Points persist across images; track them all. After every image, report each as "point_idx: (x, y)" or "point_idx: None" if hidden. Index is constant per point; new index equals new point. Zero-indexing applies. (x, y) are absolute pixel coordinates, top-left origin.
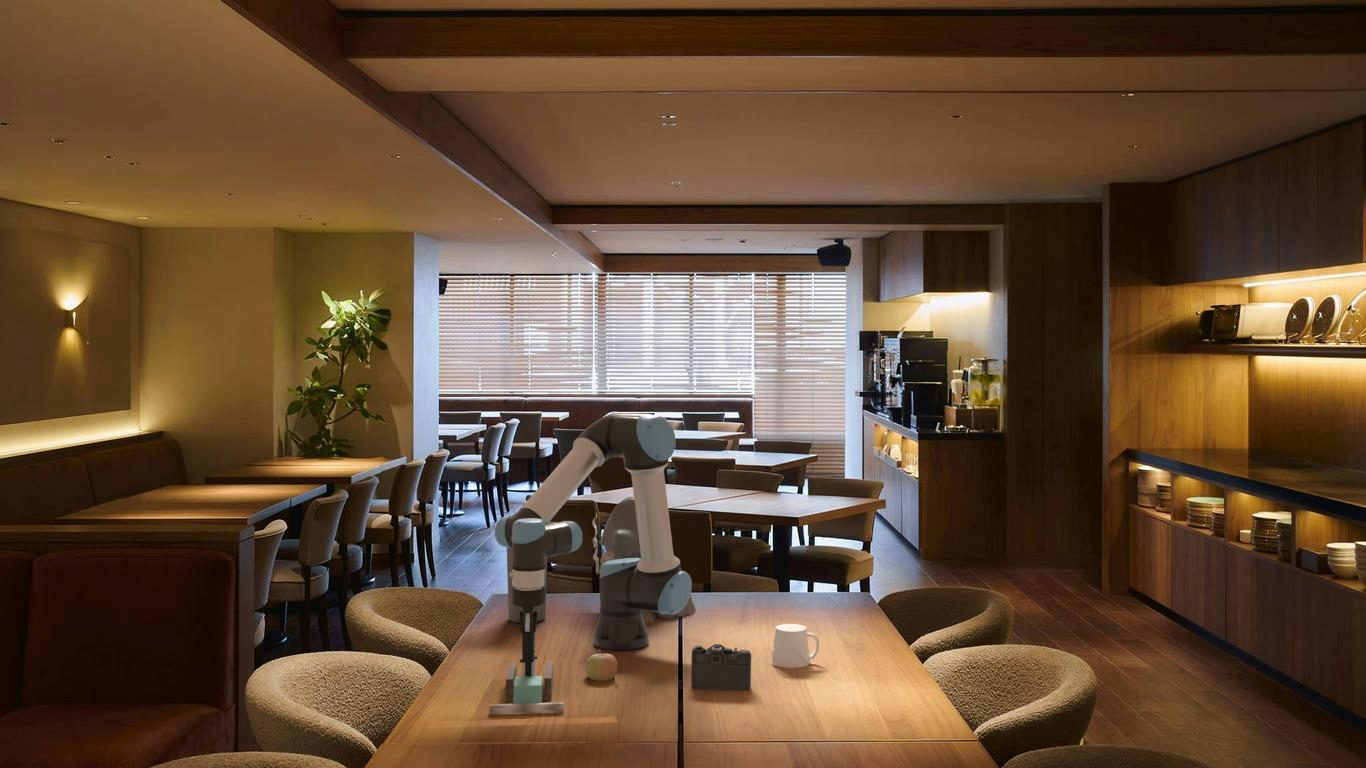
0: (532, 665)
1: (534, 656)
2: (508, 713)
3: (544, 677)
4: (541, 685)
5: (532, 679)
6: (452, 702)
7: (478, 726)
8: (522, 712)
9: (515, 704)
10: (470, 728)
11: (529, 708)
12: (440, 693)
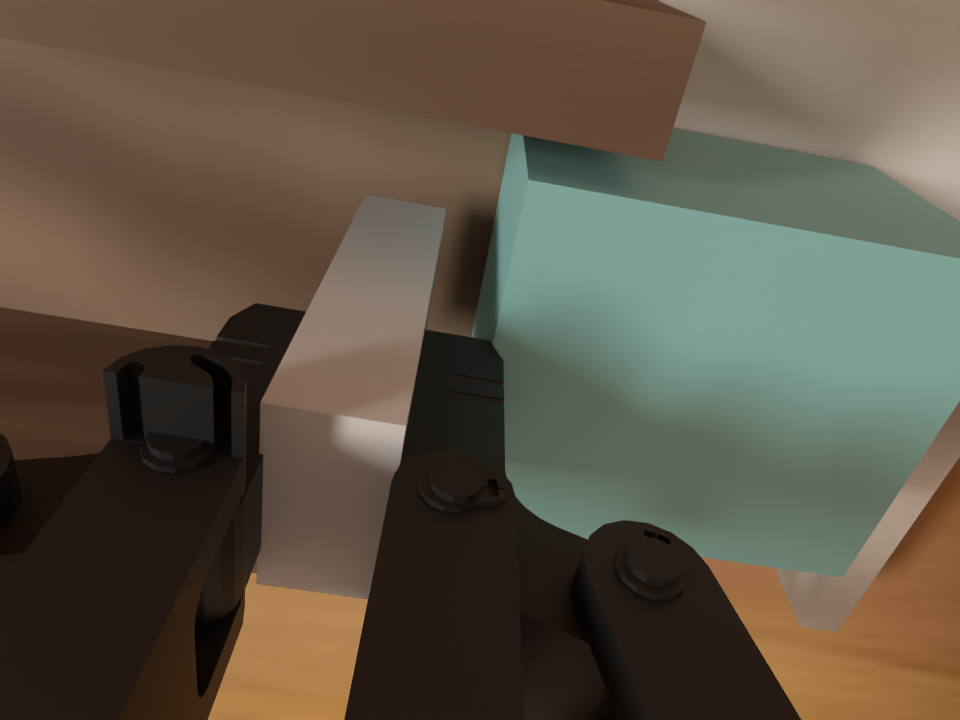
0: (410, 411)
1: (199, 447)
2: None
3: (613, 148)
4: (882, 230)
5: (668, 352)
6: (347, 679)
7: (889, 606)
8: None
9: (928, 466)
10: (897, 642)
11: None
12: None
